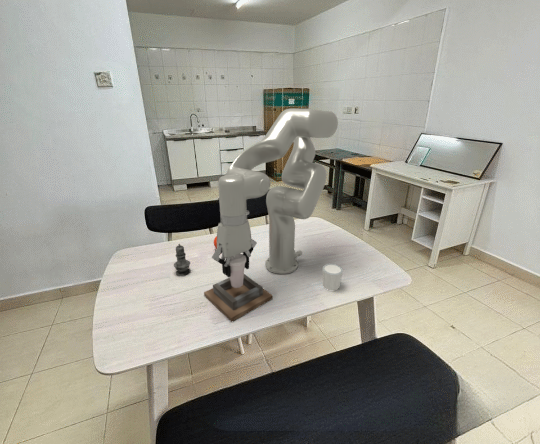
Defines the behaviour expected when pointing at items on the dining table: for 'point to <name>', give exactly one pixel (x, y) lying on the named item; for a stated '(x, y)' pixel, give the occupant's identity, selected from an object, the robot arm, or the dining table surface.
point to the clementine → (215, 242)
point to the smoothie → (237, 270)
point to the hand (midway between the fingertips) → (236, 270)
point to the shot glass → (332, 276)
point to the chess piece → (181, 262)
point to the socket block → (237, 297)
